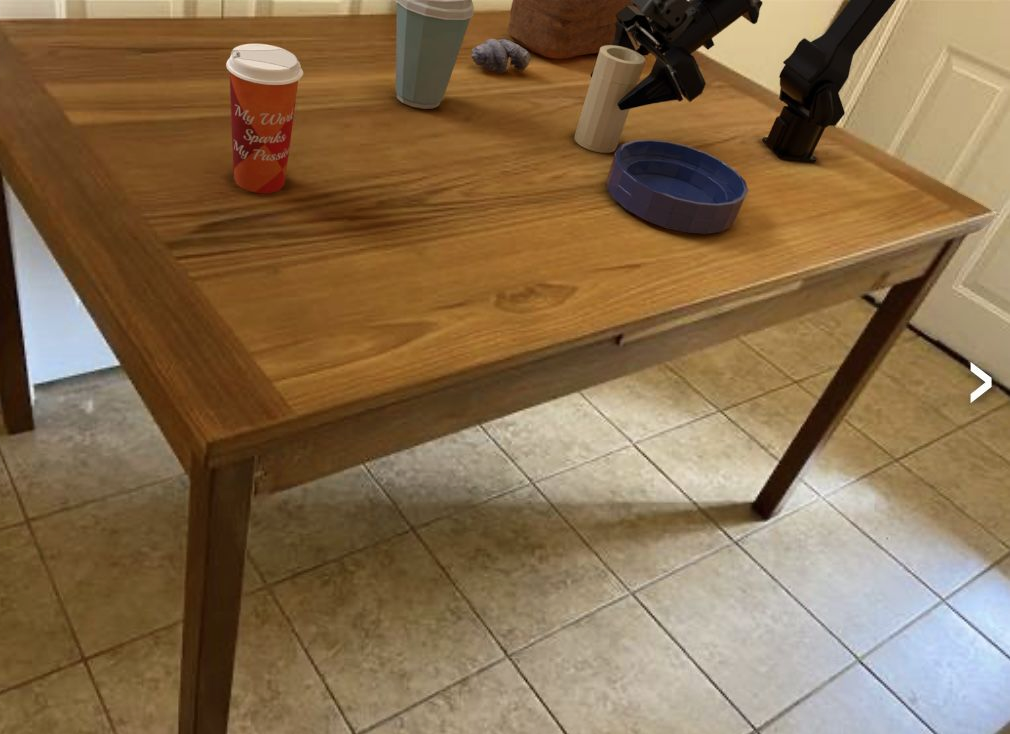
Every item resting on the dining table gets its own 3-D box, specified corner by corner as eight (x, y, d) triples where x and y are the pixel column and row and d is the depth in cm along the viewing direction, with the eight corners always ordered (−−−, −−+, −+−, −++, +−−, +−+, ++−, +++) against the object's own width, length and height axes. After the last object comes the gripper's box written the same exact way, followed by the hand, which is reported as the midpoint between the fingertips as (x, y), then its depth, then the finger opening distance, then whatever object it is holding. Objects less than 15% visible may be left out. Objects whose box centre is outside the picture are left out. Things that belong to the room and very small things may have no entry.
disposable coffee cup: (371, 102, 120) (386, -14, 111) (393, 77, 128) (409, -33, 119) (445, 123, 120) (467, 8, 110) (463, 96, 128) (484, -13, 118)
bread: (491, 37, 149) (507, -40, 141) (591, 21, 166) (610, -50, 158) (552, 69, 143) (572, -10, 135) (649, 49, 160) (673, -23, 152)
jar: (608, 134, 127) (635, 48, 119) (622, 154, 122) (651, 65, 114) (568, 131, 125) (594, 42, 117) (581, 151, 121) (608, 60, 113)
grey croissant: (521, 77, 141) (466, 79, 137) (516, 42, 140) (461, 43, 136) (539, 67, 136) (483, 69, 132) (534, 31, 136) (478, 32, 131)
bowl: (701, 175, 122) (714, 145, 119) (755, 241, 110) (770, 209, 107) (588, 166, 118) (598, 134, 115) (631, 233, 106) (643, 200, 103)
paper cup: (227, 197, 95) (230, 68, 86) (221, 163, 100) (223, 38, 91) (299, 199, 98) (309, 74, 88) (290, 166, 103) (298, 44, 94)
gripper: (651, -59, 116) (553, 19, 120) (720, -10, 103) (607, 76, 107) (681, 9, 124) (588, 80, 127) (748, 62, 111) (643, 140, 115)
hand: (605, 92), depth 119 cm, fingers open, 9 cm apart
